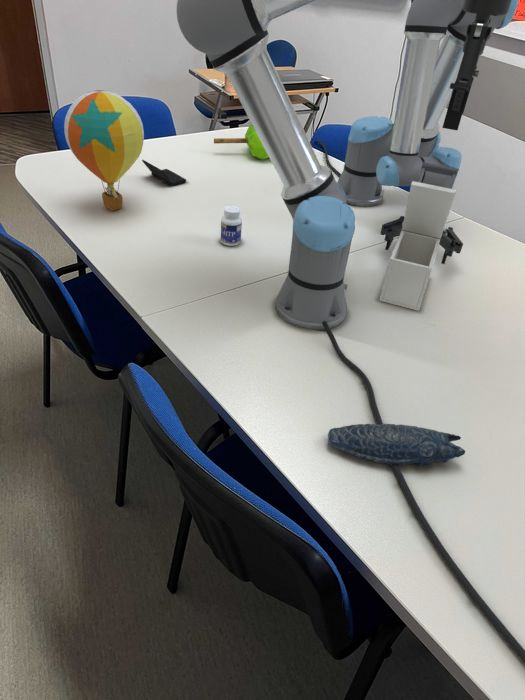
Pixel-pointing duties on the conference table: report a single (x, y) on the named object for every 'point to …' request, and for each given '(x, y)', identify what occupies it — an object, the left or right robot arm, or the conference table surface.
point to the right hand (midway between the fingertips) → (415, 251)
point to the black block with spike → (165, 175)
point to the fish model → (395, 443)
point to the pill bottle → (231, 226)
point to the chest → (409, 270)
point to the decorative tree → (248, 143)
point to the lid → (429, 203)
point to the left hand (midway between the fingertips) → (453, 120)
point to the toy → (105, 138)
